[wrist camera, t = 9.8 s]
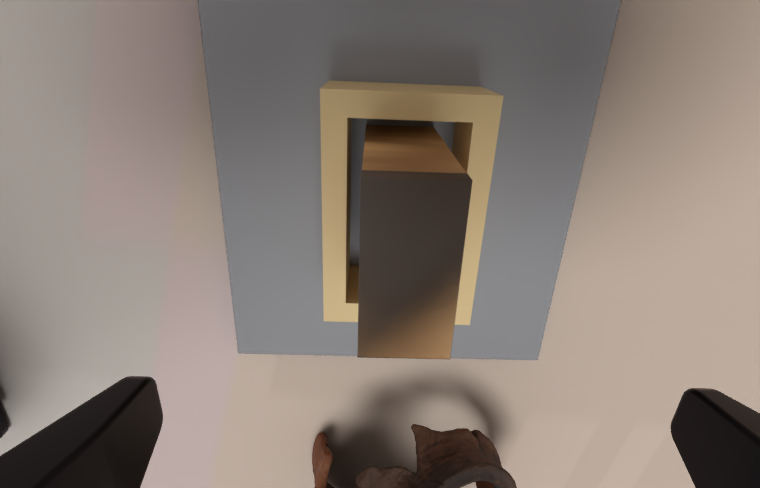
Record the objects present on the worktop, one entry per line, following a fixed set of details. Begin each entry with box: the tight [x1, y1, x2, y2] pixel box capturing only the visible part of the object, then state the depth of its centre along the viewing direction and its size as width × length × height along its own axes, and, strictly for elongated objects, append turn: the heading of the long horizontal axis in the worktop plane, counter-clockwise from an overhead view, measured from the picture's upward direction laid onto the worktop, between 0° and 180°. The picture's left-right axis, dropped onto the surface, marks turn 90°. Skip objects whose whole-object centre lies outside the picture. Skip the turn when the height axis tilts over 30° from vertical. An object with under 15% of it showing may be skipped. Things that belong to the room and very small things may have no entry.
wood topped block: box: [357, 125, 473, 359], centre depth 14 cm, size 2×5×7 cm, turn 178°
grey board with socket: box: [198, 0, 621, 360], centre depth 16 cm, size 14×16×4 cm
